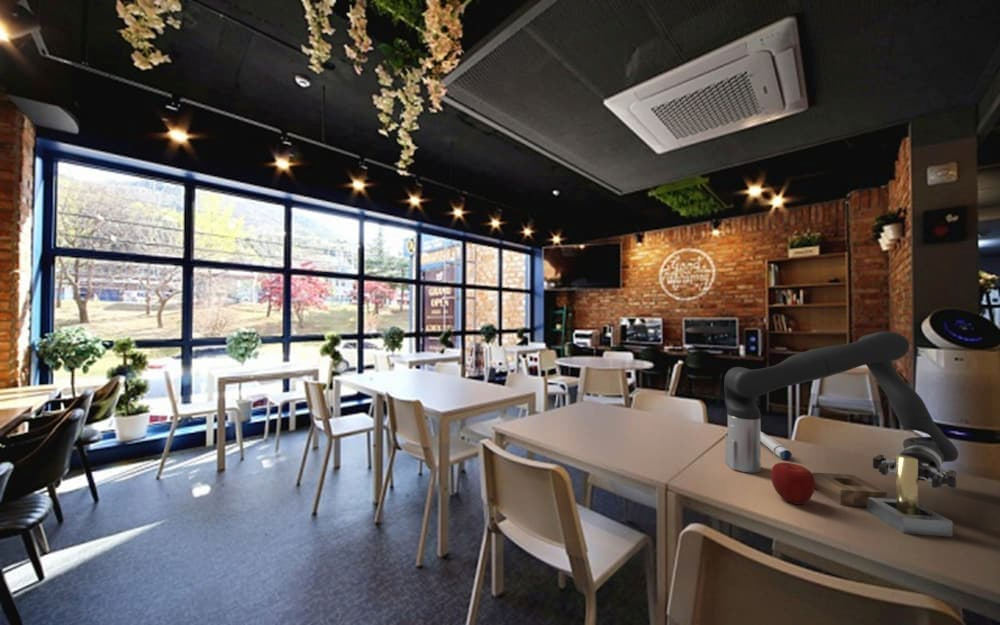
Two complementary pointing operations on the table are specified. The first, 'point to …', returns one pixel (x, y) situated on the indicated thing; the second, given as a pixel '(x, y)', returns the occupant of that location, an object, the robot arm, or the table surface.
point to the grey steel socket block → (910, 518)
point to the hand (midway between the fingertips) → (908, 477)
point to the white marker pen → (775, 447)
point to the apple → (793, 482)
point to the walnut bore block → (847, 488)
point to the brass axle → (907, 484)
